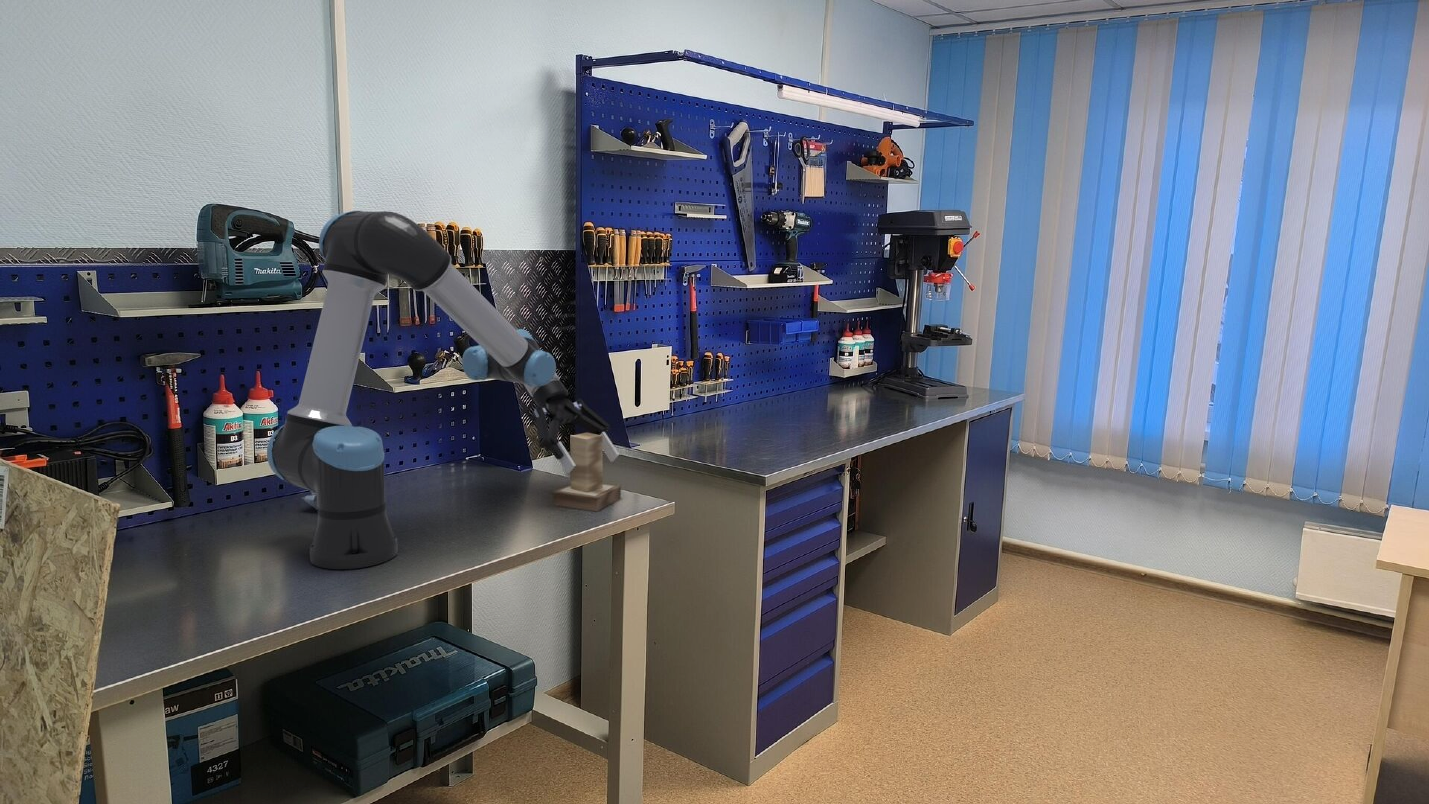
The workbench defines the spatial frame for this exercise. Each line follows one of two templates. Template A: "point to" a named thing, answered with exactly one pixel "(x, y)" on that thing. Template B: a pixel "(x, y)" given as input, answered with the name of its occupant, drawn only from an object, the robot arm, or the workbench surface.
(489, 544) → the workbench surface
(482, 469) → the workbench surface
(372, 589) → the workbench surface
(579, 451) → the oak block
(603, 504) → the plinth
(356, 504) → the robot arm
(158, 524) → the workbench surface
